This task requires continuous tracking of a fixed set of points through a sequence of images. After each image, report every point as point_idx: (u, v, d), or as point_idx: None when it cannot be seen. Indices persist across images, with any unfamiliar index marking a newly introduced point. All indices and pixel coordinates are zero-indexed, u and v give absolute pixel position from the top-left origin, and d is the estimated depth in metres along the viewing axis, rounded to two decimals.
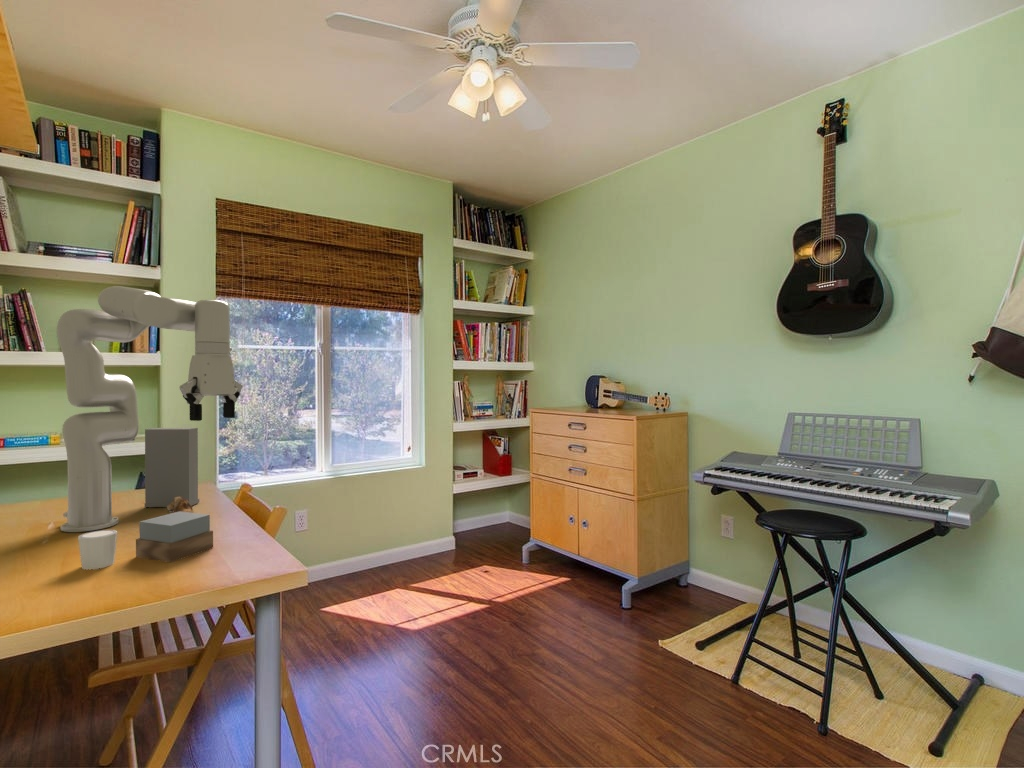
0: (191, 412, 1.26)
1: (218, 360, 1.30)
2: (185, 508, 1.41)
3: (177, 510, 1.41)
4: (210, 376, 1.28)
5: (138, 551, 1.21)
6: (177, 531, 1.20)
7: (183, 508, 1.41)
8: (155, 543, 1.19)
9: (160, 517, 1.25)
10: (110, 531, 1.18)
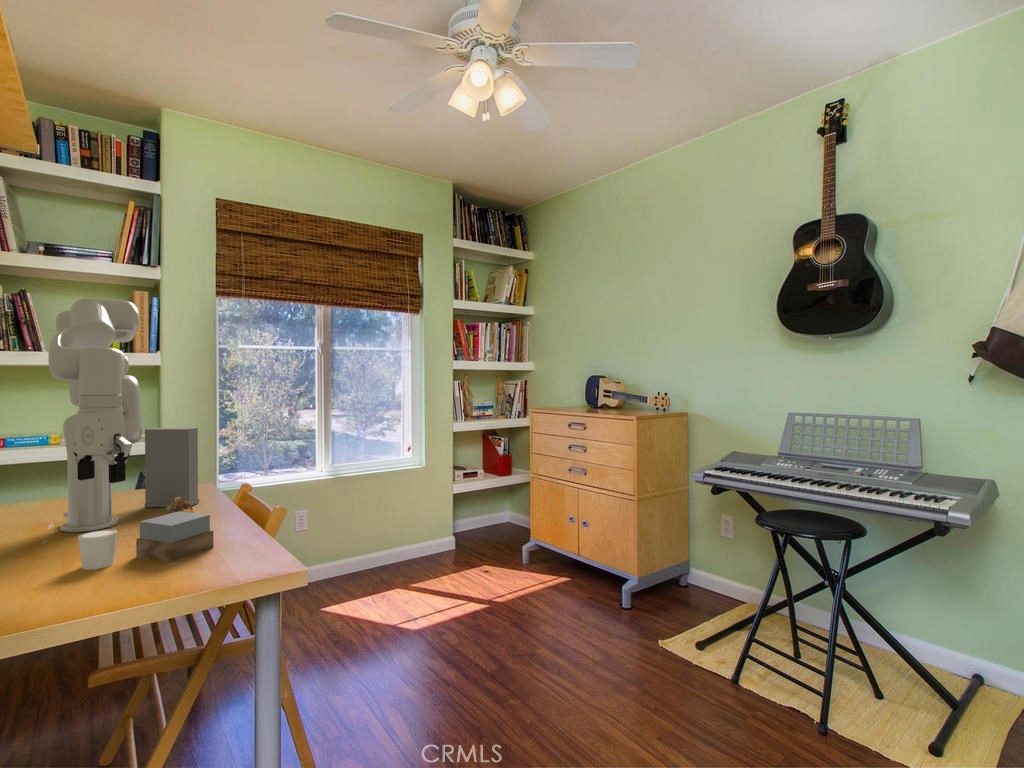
0: (119, 473, 1.14)
1: None
2: (185, 508, 1.40)
3: (177, 510, 1.41)
4: None
5: (138, 551, 1.21)
6: (177, 531, 1.20)
7: (183, 509, 1.41)
8: (156, 543, 1.20)
9: (160, 517, 1.25)
10: (110, 531, 1.18)
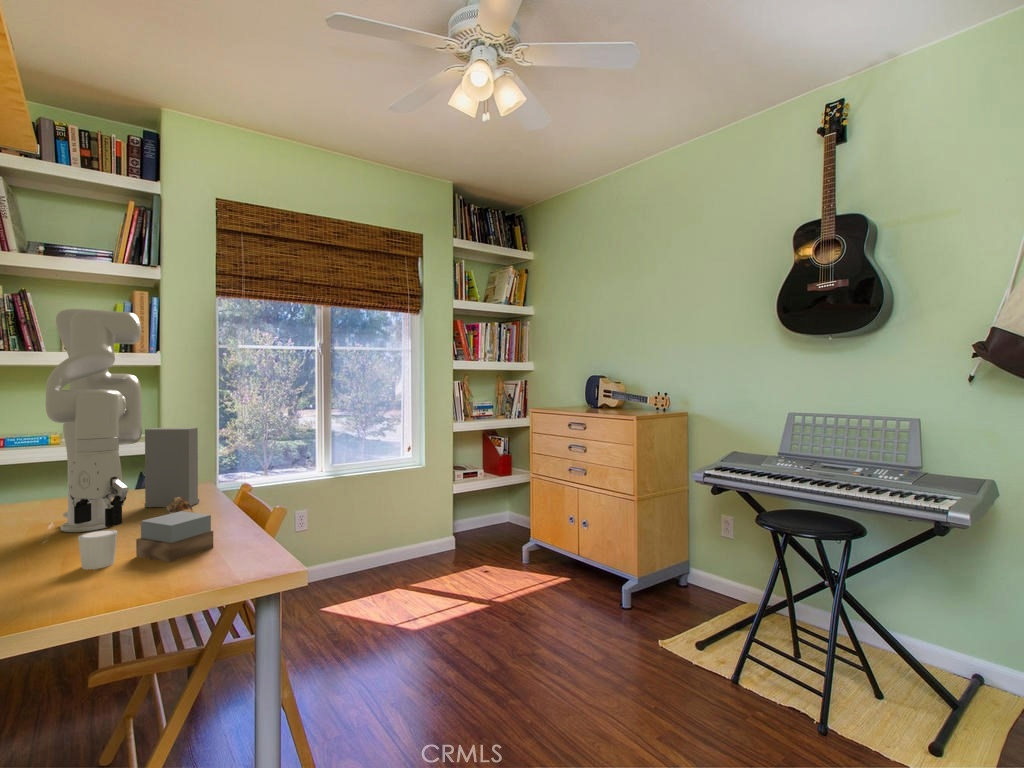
0: (115, 516, 1.14)
1: None
2: (185, 509, 1.40)
3: (177, 511, 1.41)
4: None
5: (138, 551, 1.21)
6: (178, 531, 1.20)
7: (183, 509, 1.40)
8: (156, 543, 1.20)
9: (162, 516, 1.26)
10: (110, 531, 1.18)
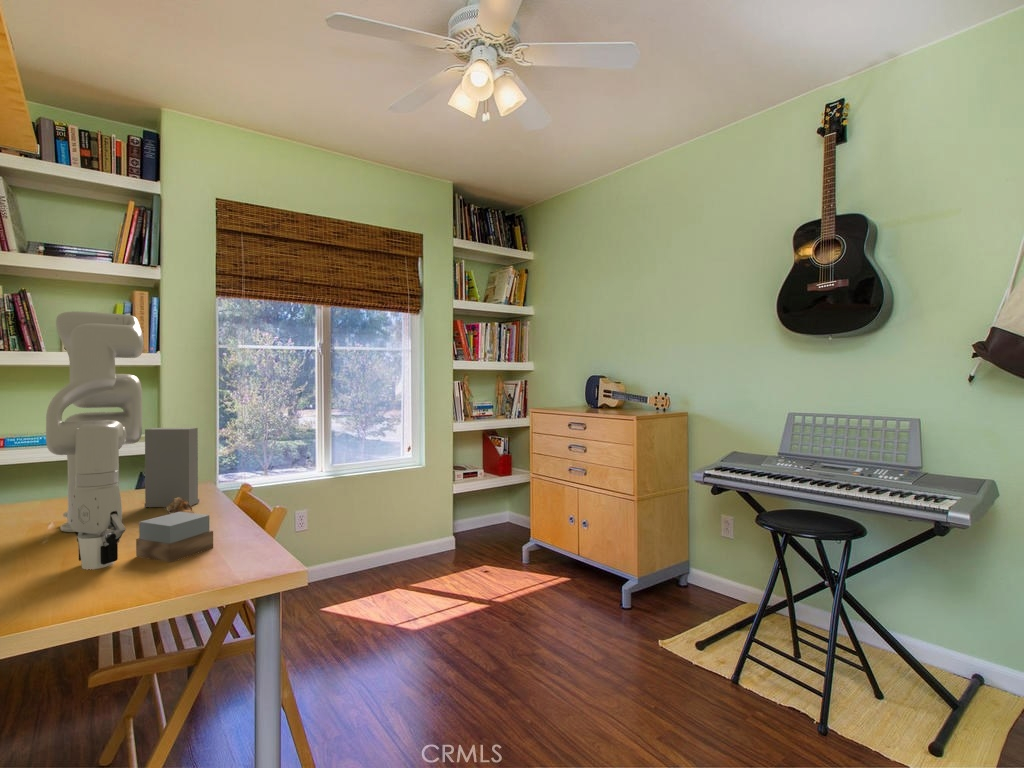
0: (111, 554, 1.15)
1: None
2: (185, 509, 1.40)
3: (177, 511, 1.40)
4: None
5: (138, 551, 1.21)
6: (176, 531, 1.20)
7: (183, 509, 1.40)
8: (155, 543, 1.20)
9: (160, 517, 1.25)
10: None
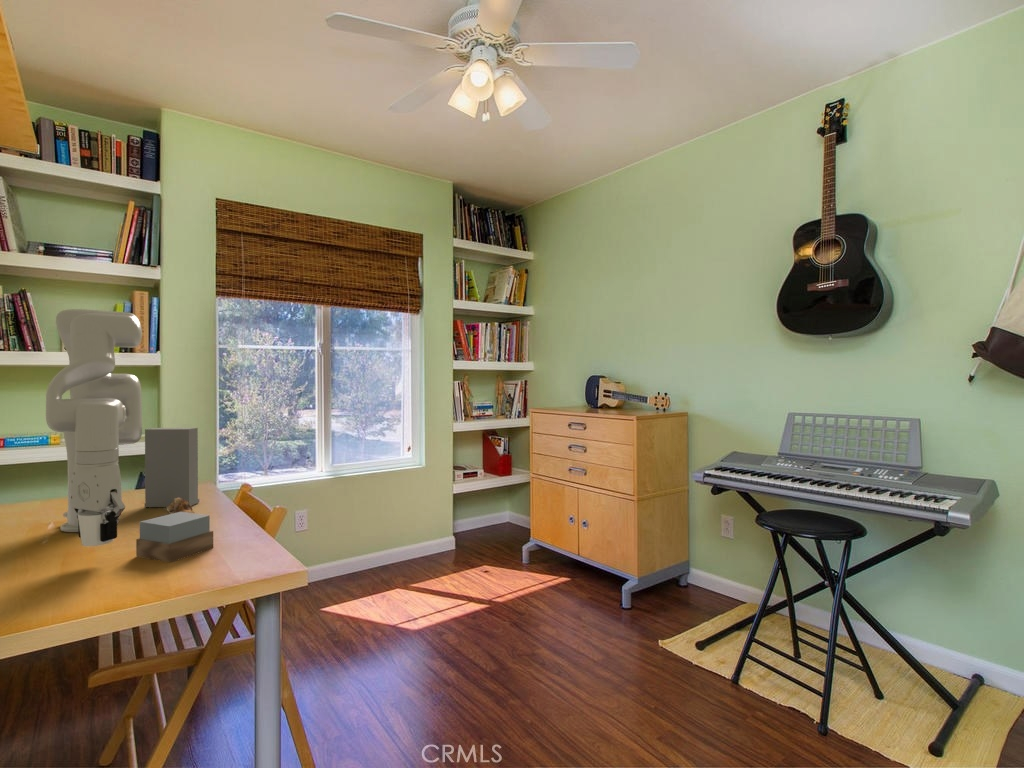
0: (110, 531, 1.15)
1: None
2: (185, 509, 1.40)
3: (177, 511, 1.40)
4: None
5: (138, 551, 1.21)
6: (176, 532, 1.20)
7: (183, 509, 1.40)
8: (155, 543, 1.20)
9: (160, 517, 1.25)
10: None
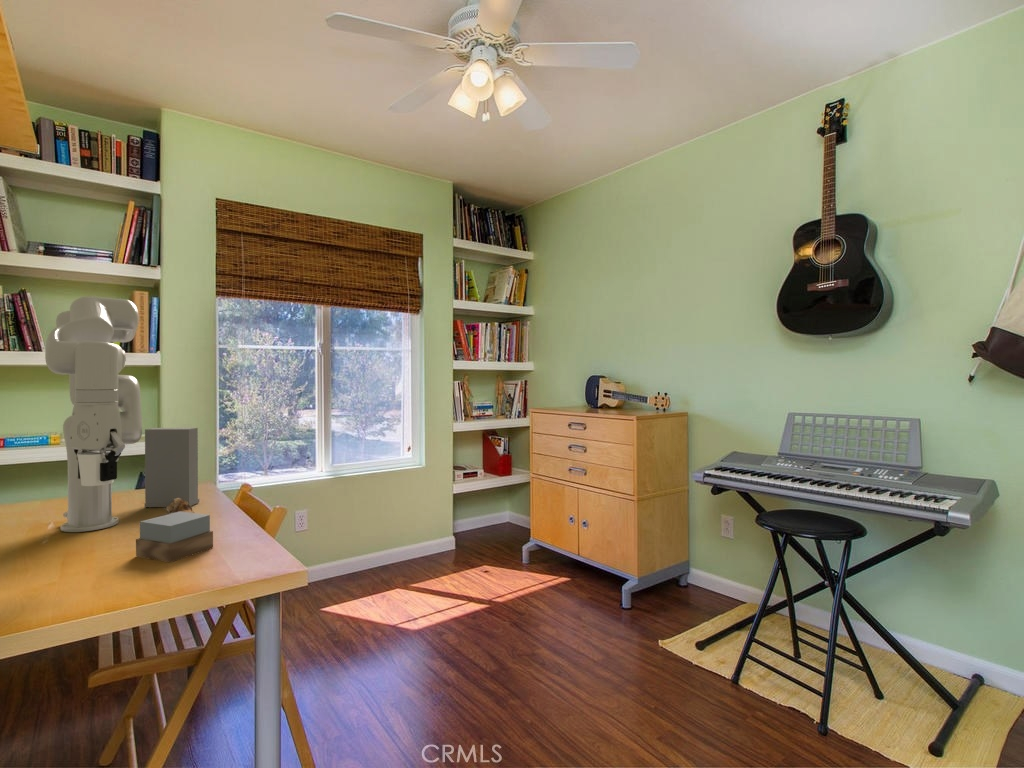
0: (110, 471, 1.15)
1: None
2: (185, 509, 1.39)
3: (177, 511, 1.40)
4: None
5: (138, 551, 1.21)
6: (177, 531, 1.20)
7: (183, 510, 1.39)
8: (155, 543, 1.20)
9: (160, 517, 1.26)
10: (109, 451, 1.18)
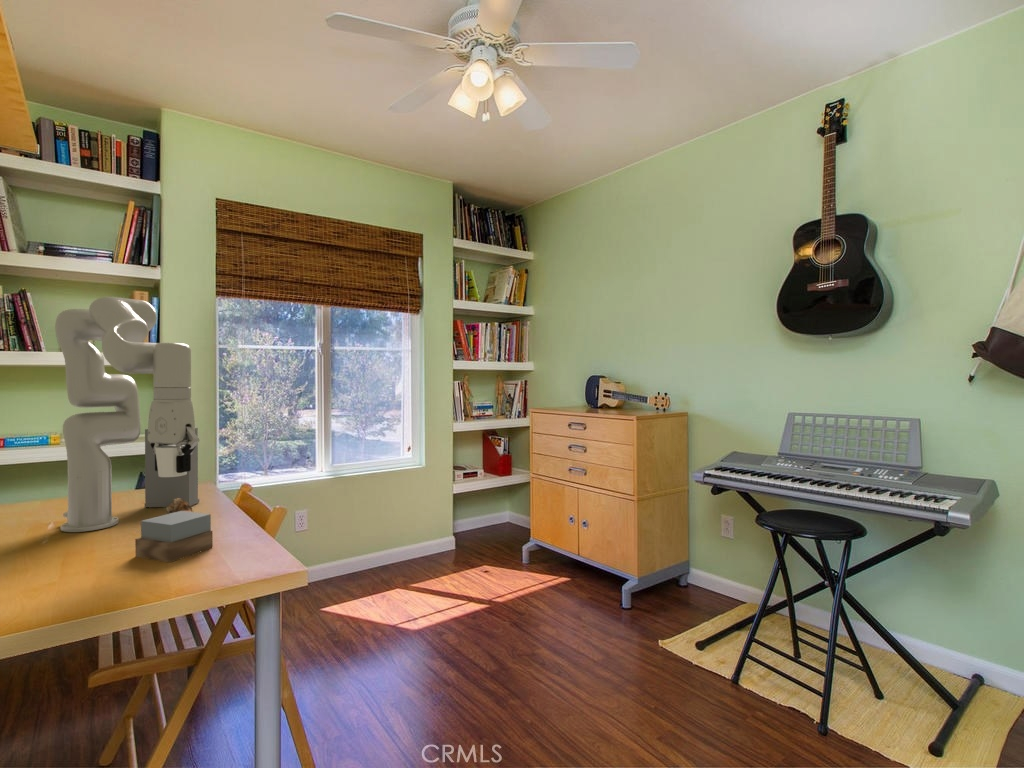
0: (185, 463, 1.23)
1: None
2: (186, 509, 1.39)
3: None
4: None
5: (137, 551, 1.21)
6: (178, 530, 1.20)
7: (184, 510, 1.39)
8: (155, 543, 1.20)
9: (162, 516, 1.26)
10: None
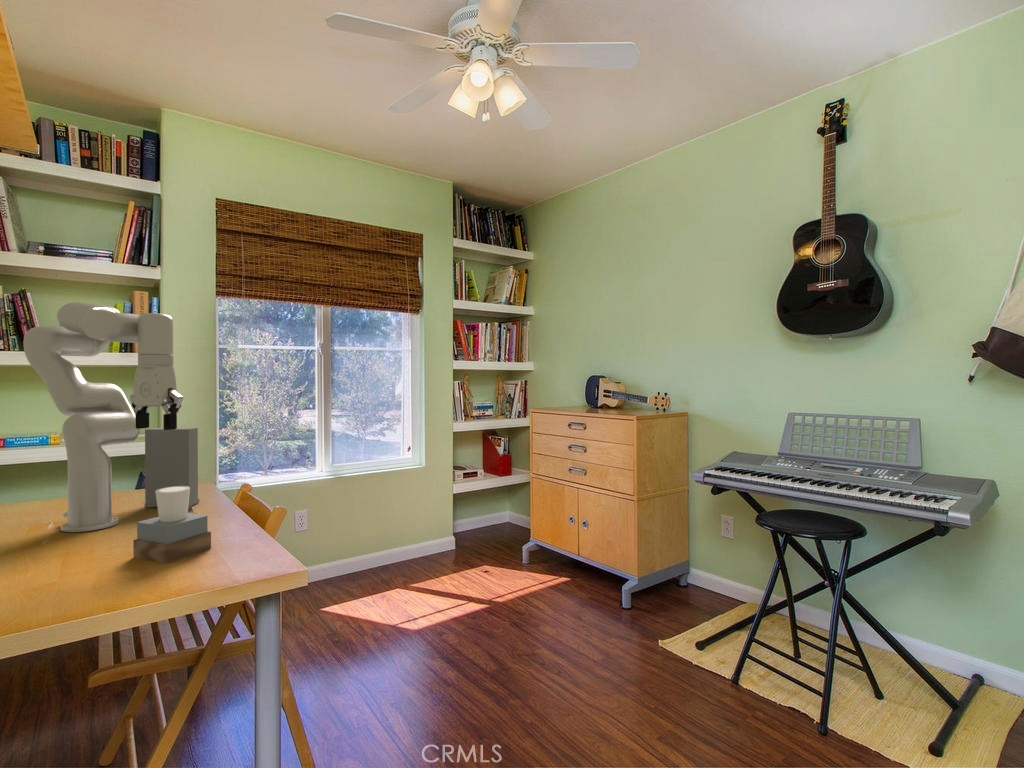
0: (172, 421, 1.33)
1: None
2: None
3: None
4: None
5: (135, 552, 1.21)
6: (174, 532, 1.19)
7: None
8: (153, 544, 1.19)
9: (158, 517, 1.25)
10: (183, 487, 1.26)
